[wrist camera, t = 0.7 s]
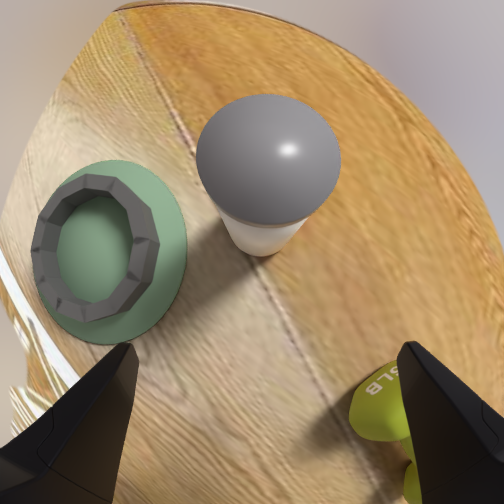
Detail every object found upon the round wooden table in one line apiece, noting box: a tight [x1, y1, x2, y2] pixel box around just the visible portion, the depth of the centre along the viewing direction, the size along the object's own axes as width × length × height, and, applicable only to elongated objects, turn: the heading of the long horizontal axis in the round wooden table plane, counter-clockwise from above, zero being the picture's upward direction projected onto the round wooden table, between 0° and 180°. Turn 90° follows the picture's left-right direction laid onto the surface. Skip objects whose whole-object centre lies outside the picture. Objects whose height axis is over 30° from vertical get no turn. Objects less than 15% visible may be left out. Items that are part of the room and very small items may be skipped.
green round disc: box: [31, 160, 187, 344], centre depth 21 cm, size 16×16×3 cm
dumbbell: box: [349, 360, 422, 504], centre depth 17 cm, size 16×8×7 cm, turn 33°
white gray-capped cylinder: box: [196, 94, 341, 256], centre depth 16 cm, size 5×5×13 cm
